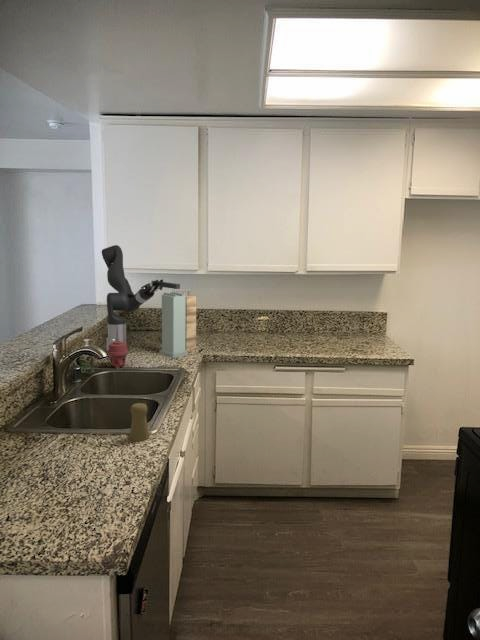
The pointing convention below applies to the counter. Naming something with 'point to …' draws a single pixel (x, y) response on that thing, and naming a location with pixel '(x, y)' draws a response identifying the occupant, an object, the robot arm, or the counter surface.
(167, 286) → the lever bar
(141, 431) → the cork
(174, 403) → the counter surface
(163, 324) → the frame
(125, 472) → the counter surface
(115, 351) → the mechanical component
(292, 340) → the counter surface
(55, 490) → the counter surface
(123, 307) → the robot arm
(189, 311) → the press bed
